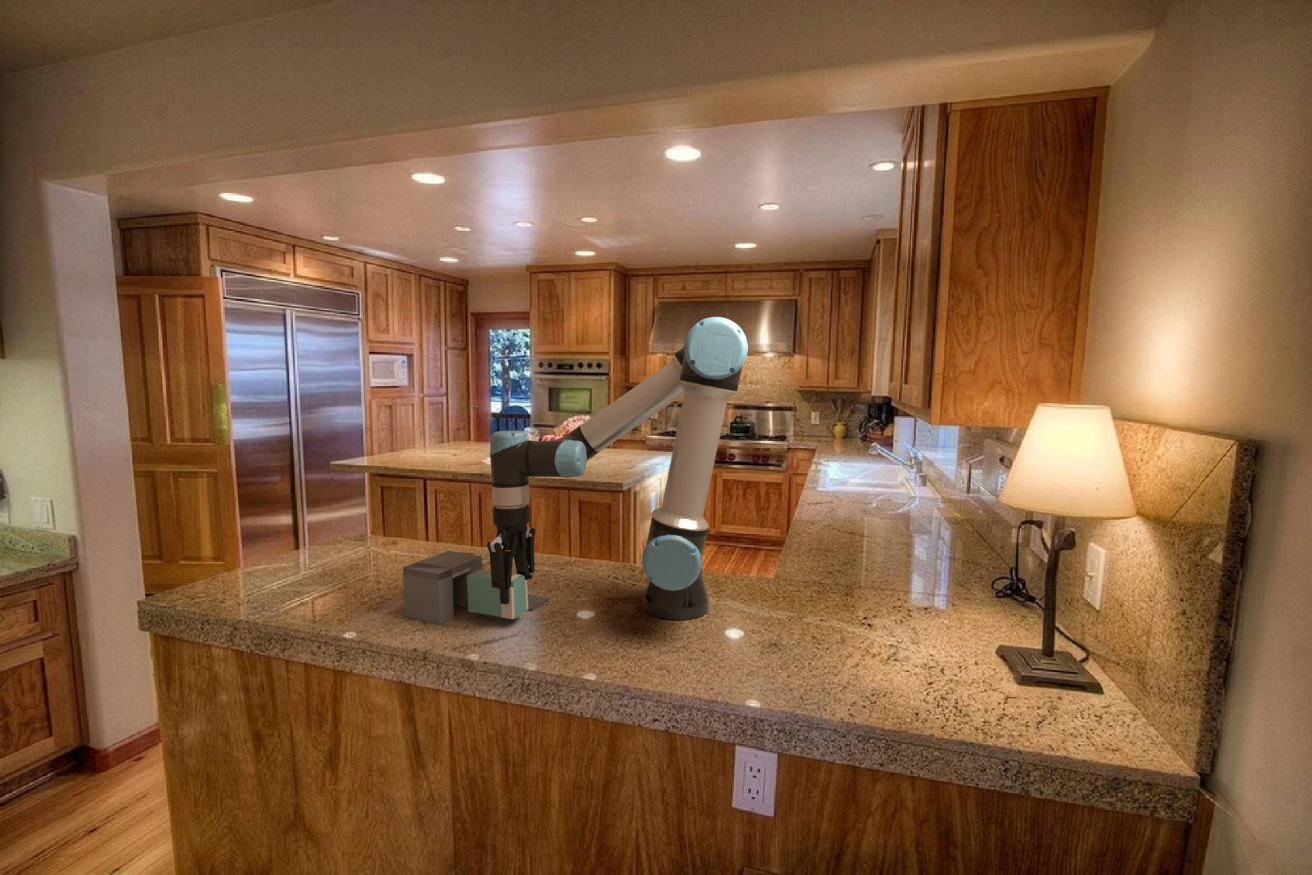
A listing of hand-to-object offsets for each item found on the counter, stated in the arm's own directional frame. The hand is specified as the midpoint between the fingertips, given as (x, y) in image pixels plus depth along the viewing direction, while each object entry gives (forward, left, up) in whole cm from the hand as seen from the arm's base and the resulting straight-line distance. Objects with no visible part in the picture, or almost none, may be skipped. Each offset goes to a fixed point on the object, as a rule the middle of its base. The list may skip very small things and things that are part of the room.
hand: (515, 612), depth 121 cm
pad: (+7, -10, -2) cm, 13 cm away
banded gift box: (+5, 0, -1) cm, 5 cm away
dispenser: (+19, 0, -2) cm, 19 cm away
